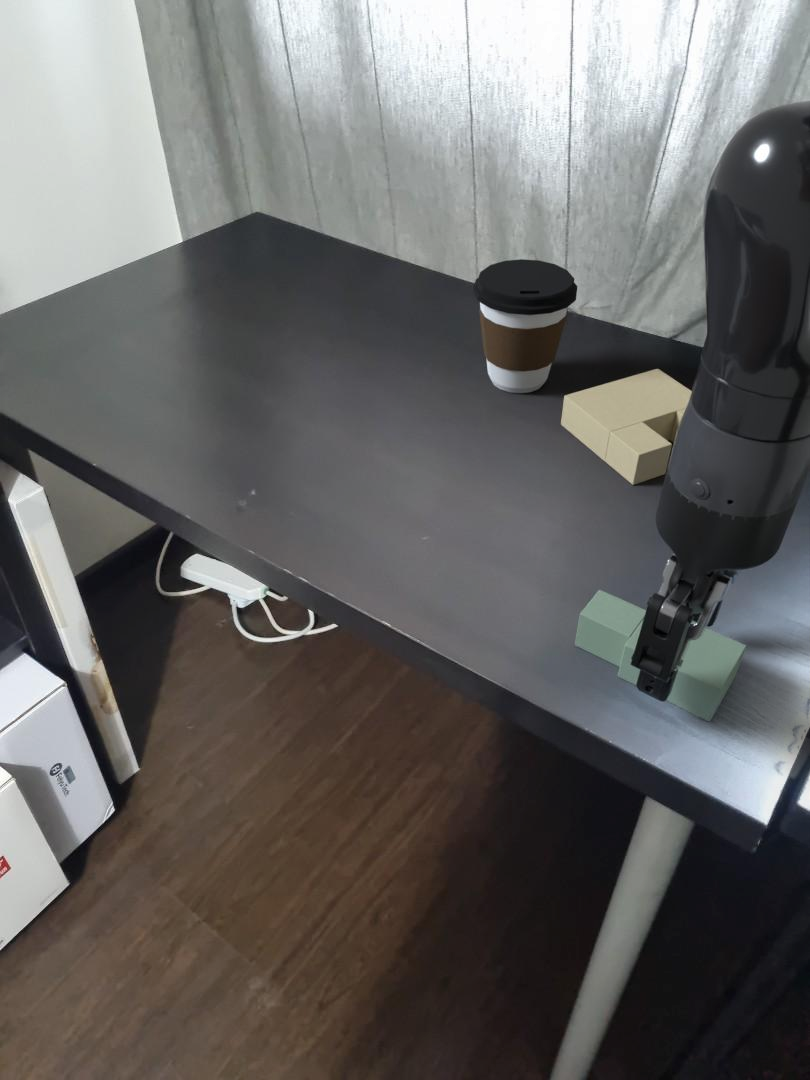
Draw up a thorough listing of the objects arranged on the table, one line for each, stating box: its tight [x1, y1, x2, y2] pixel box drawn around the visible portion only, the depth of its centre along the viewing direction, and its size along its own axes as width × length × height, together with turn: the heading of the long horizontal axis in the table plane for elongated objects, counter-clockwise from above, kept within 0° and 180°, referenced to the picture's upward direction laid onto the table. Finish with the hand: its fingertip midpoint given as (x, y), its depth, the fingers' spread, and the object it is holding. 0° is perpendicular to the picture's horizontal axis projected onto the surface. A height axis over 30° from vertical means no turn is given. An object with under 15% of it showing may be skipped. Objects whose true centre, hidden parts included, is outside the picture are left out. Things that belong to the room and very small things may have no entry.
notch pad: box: [560, 368, 692, 486], centre depth 83 cm, size 12×12×4 cm
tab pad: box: [574, 589, 747, 722], centre depth 60 cm, size 11×5×4 cm, turn 53°
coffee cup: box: [472, 258, 578, 394], centre depth 90 cm, size 11×11×12 cm
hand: (676, 654), depth 59 cm, fingers open, 8 cm apart
